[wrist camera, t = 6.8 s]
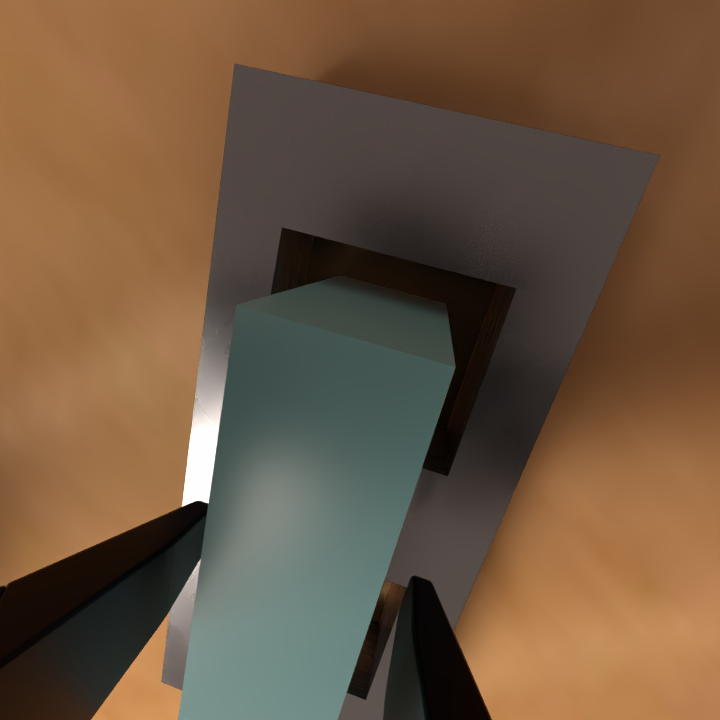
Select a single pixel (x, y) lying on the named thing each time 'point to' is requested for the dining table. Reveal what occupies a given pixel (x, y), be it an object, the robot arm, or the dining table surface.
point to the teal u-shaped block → (309, 492)
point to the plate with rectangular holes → (426, 246)
